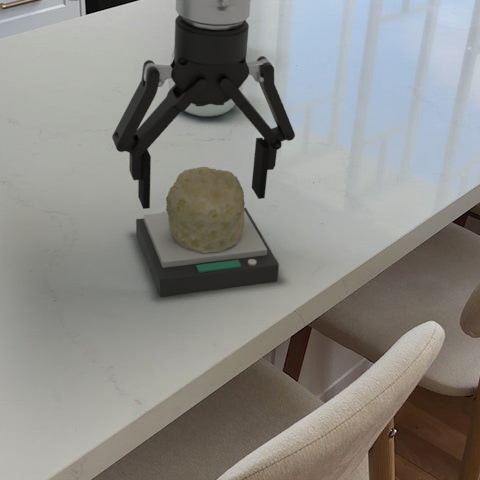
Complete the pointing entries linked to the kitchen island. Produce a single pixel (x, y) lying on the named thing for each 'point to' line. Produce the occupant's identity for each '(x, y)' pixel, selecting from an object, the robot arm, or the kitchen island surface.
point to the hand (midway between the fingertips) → (202, 197)
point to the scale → (203, 259)
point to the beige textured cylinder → (206, 209)
